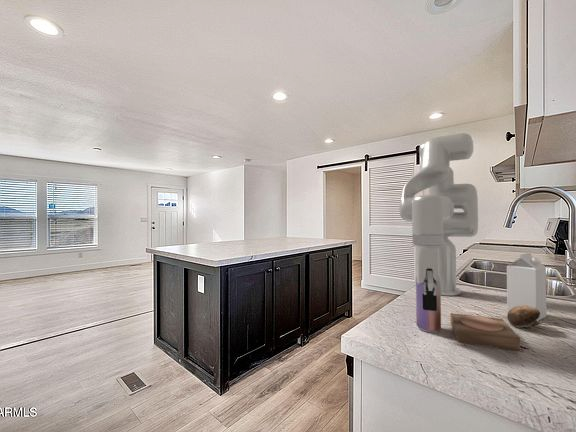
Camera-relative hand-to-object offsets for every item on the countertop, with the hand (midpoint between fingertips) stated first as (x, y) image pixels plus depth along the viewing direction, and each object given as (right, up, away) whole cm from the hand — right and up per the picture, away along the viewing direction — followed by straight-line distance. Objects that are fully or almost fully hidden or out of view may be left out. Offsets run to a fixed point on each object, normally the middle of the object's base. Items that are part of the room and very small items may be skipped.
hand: (428, 304), depth 74 cm
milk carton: (+34, -6, +8) cm, 36 cm away
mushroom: (+26, -7, +1) cm, 27 cm away
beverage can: (0, -7, 0) cm, 7 cm away
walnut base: (+11, -6, -5) cm, 14 cm away
